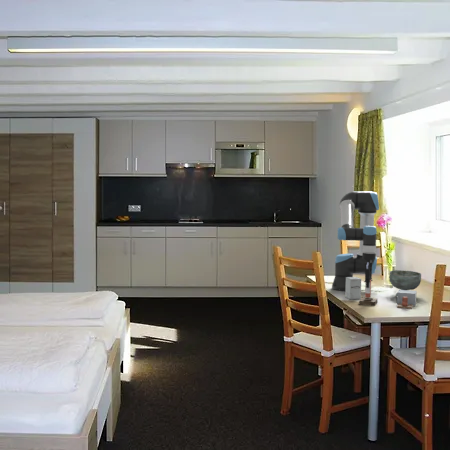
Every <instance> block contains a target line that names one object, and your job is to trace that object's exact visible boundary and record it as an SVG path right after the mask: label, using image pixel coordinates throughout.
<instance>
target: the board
mask: <svg viewBox="0 0 450 450" xmlns="http://www.w3.org/2000/svg"><path fill="white" fill-rule="evenodd" d="M413 307H414V306H413V304H408V297H402V304H400V303H399V304H397V305H396V308H397V309H409V310H410V309H411V310H412V309H413Z"/></svg>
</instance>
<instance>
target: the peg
mask: <svg viewBox="0 0 450 450" xmlns="http://www.w3.org/2000/svg"><path fill="white" fill-rule="evenodd" d="M371 280H372V279H371ZM371 280H370V293H365V292H364V298H372V297H371V294H372V281H371Z"/></svg>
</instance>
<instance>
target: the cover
mask: <svg viewBox="0 0 450 450" xmlns="http://www.w3.org/2000/svg"><path fill="white" fill-rule="evenodd" d="M396 297H397V299H396V304H397V305H398V304H399V303H400V304H402V297H408V304H413V307H414V306H416V304H417V290H401V289H398V291H397V296H396Z"/></svg>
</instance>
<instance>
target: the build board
mask: <svg viewBox="0 0 450 450" xmlns="http://www.w3.org/2000/svg"><path fill="white" fill-rule="evenodd" d="M358 300H359V301H358V305H362V306H373V307H375V306H376V305H377V303H378V298H375V297H373V298H372V297H370V298H366V297H362V296H361V299H358Z"/></svg>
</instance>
